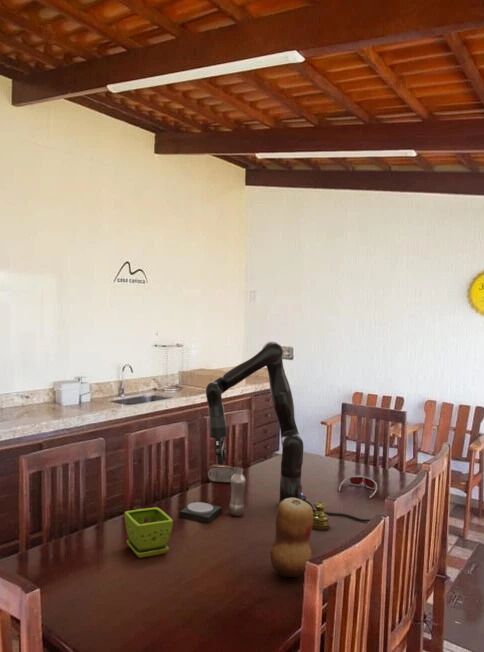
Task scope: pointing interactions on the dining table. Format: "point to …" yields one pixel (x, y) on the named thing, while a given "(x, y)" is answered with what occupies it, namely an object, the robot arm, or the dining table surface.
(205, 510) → the kitchen scale
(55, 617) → the dining table surface
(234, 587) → the dining table surface
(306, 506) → the butternut squash
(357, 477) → the sunglasses
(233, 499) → the plastic bottle
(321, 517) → the golden figurine
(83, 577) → the dining table surface
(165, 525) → the flower pot
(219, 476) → the tin
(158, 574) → the dining table surface
